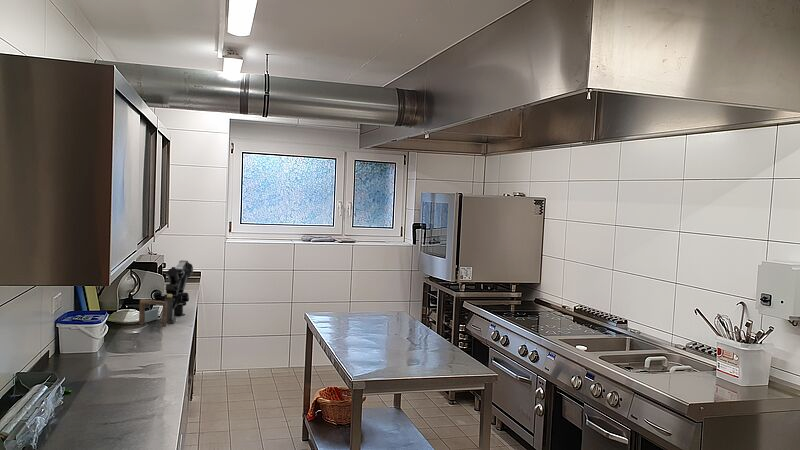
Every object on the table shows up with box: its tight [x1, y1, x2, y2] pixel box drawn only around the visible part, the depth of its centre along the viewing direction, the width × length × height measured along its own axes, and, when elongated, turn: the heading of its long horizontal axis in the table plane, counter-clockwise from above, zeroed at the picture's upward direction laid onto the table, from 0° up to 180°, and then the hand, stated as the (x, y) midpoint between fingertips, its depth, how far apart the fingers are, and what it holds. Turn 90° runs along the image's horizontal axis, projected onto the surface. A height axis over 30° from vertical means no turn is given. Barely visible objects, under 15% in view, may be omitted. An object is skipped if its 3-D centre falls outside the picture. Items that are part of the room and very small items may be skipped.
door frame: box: [138, 298, 167, 328], centre depth 334 cm, size 2×16×14 cm, turn 76°
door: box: [144, 308, 159, 324], centre depth 343 cm, size 12×1×6 cm, turn 166°
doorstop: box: [165, 293, 176, 325], centre depth 342 cm, size 6×6×17 cm
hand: (168, 309), depth 340 cm, fingers closed on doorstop, 4 cm apart
